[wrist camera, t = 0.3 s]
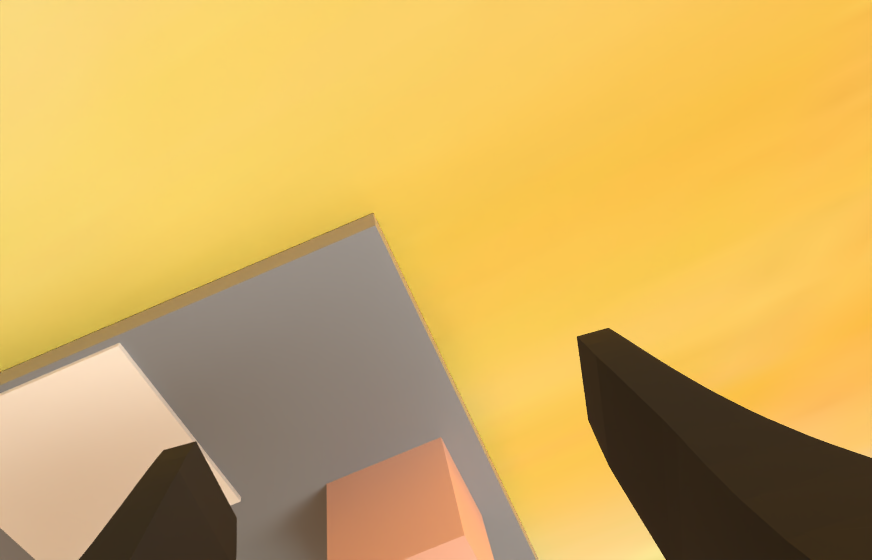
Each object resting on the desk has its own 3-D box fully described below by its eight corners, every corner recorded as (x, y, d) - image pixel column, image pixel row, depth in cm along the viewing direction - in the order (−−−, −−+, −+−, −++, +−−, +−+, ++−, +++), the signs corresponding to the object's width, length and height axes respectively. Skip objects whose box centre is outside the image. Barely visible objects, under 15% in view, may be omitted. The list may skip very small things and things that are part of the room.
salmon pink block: (481, 515, 26) (509, 617, 22) (376, 557, 26) (385, 666, 23) (440, 436, 24) (464, 535, 20) (326, 484, 24) (327, 590, 20)
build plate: (548, 579, 30) (556, 602, 29) (176, 726, 31) (171, 754, 30) (373, 212, 21) (375, 227, 20) (-159, 440, 21) (-183, 465, 20)
